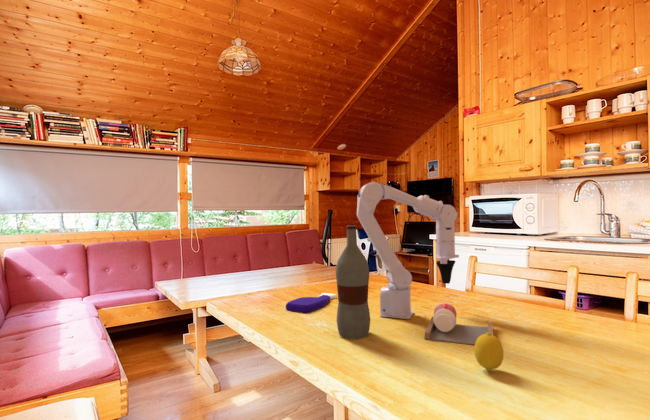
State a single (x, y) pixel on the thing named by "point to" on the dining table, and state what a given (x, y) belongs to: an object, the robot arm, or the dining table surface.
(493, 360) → the lemon
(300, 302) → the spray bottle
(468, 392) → the dining table surface
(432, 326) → the grey tray
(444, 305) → the pill bottle
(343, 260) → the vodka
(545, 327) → the dining table surface
